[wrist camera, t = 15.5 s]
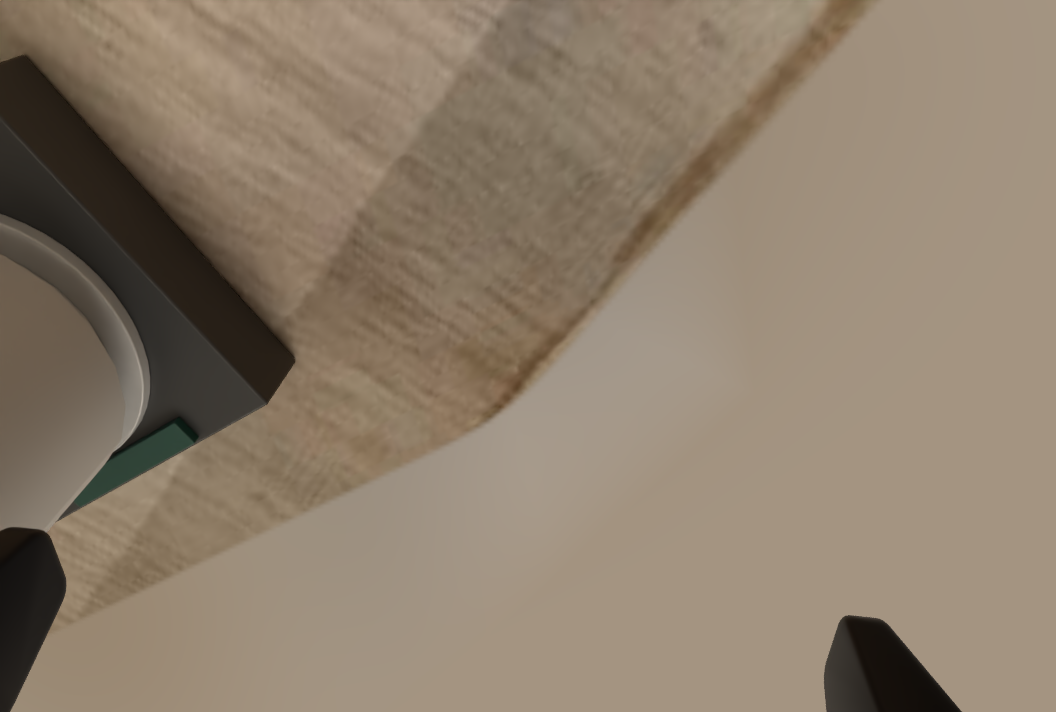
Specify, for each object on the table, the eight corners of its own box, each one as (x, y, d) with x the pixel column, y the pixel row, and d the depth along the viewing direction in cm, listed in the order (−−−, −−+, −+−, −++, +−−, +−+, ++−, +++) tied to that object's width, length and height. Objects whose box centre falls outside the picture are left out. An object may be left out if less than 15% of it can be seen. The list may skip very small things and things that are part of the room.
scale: (297, 360, 24) (262, 413, 22) (78, 486, 28) (30, 542, 26) (24, 52, 20) (-52, 80, 18) (-187, 246, 24) (-270, 288, 22)
